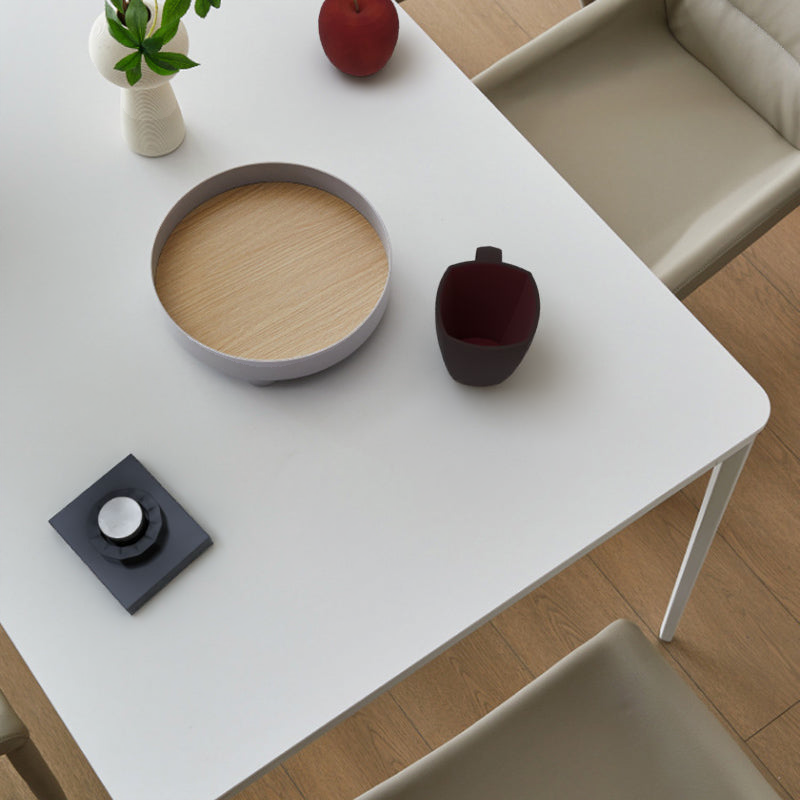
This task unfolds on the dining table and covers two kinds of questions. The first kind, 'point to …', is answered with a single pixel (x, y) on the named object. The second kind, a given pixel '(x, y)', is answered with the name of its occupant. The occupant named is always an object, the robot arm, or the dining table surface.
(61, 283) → the dining table surface
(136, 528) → the button
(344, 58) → the apple
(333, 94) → the dining table surface
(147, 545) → the control block
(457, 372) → the cup
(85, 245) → the dining table surface
